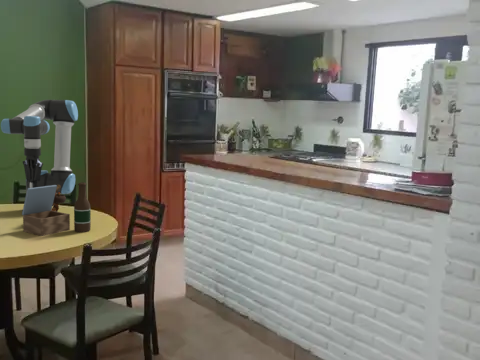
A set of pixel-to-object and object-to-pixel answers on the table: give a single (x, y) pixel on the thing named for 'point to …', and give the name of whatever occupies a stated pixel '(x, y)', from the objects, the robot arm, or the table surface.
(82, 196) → the beer bottle
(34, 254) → the table surface
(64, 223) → the box
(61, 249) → the table surface
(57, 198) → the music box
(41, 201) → the lid
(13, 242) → the table surface
